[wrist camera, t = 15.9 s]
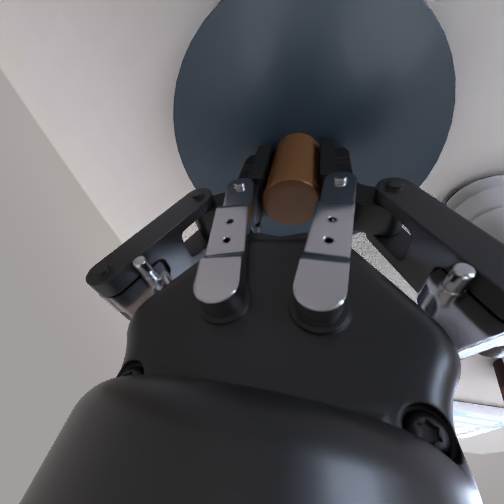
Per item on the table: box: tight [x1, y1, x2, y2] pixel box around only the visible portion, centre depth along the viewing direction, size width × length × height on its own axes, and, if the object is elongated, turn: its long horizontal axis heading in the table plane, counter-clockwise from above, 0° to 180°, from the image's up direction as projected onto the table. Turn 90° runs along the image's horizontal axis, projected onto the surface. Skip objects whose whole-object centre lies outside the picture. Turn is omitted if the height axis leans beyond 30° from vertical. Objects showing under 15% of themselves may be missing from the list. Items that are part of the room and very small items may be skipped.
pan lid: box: [173, 0, 455, 237], centre depth 13 cm, size 15×15×6 cm
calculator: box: [453, 401, 504, 438], centre depth 47 cm, size 13×20×2 cm, turn 10°
